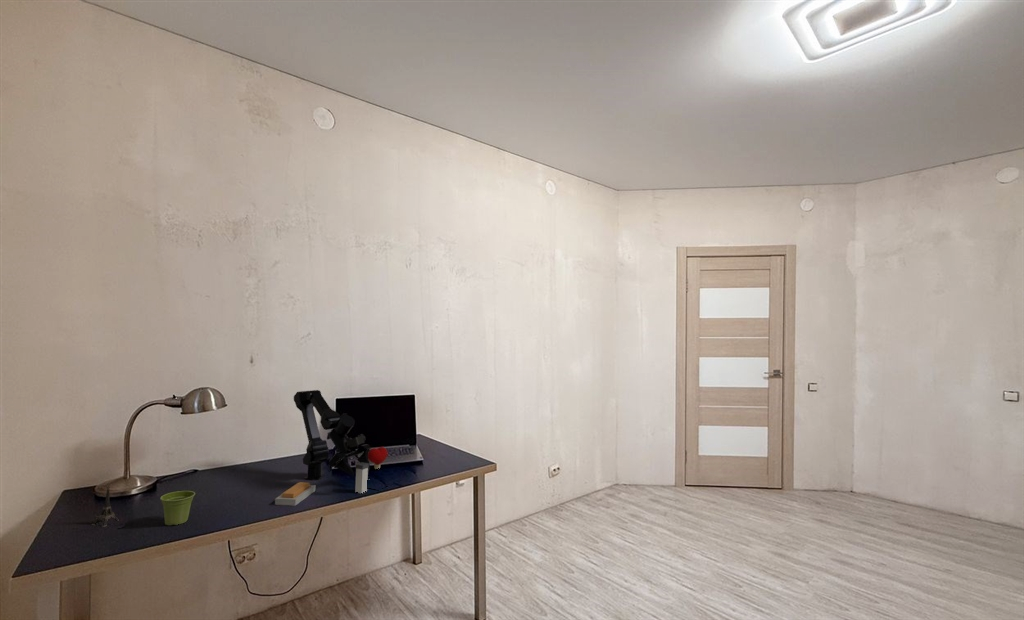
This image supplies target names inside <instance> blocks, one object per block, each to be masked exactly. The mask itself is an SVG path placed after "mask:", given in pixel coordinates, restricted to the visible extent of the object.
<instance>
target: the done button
mask: <svg viewBox="0 0 1024 620" xmlns="http://www.w3.org/2000/svg"><path fill="white" fill-rule="evenodd" d="M309 485H310V482H301V481H299V482H297V483H296V484H294V485H293V486H291V487H290V488H289V489H287V490H284V492H282V493H281V494H282V498H295V497H296V496H298V495H299V494H301V493H302V492H303V491H305V490H306V489H308V488H309Z"/></svg>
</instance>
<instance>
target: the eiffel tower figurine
mask: <svg viewBox="0 0 1024 620" xmlns="http://www.w3.org/2000/svg"><path fill="white" fill-rule="evenodd" d="M107 484H108V485H107V486H106V494H105V500H104V505H103V507H102V508H103V509H102V511H101V512H100V514H98V516H97V517H98V518H96V519H95V521H93V523H91V525H94V526H93V527H98V526H99V528H106V527H108V526H107V521H108V519H110V518H111V517H112V518H114V519H115V521H119V519H118V518H117V517H116V516H115V515H116V514H115V512H113V510H112V506H111V502H110V497H111V496H110V487H111V486H110V485H109V483H107ZM100 520H101V521H103V525H100V524H99V525H98V526H97V523H98V522H100Z"/></svg>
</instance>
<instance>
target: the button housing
mask: <svg viewBox="0 0 1024 620" xmlns="http://www.w3.org/2000/svg"><path fill="white" fill-rule="evenodd" d="M316 487H317V486H316V484H309V488H308V489H306V490H305V491H303V492H302V493H301V494H299V495H298V496H296V497H295V498H282V493H281V494H279V496H277V497H276V498H274V505H275V506H293V507H294V506H296V505H298V504H299V503H300V502H302V501H303V500H305V499H306V498H308V497H309V496H311V494H313V493H315V491H316Z"/></svg>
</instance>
